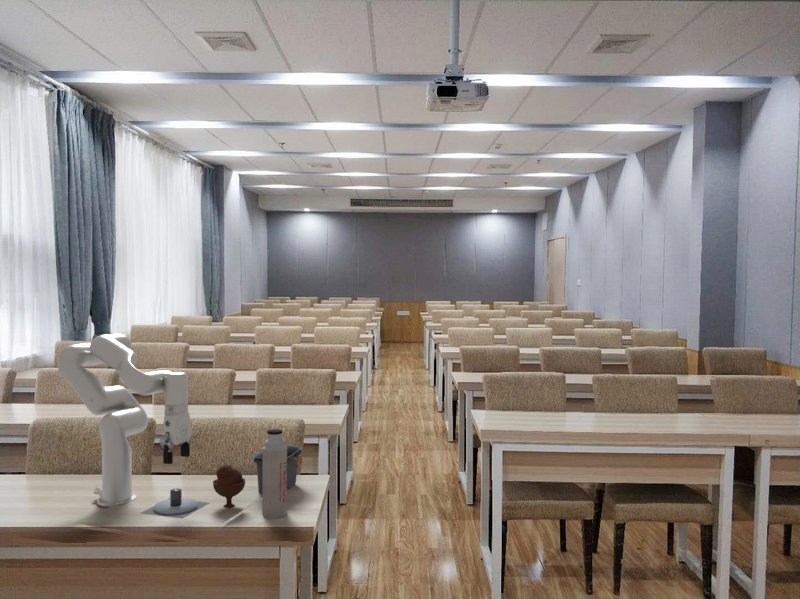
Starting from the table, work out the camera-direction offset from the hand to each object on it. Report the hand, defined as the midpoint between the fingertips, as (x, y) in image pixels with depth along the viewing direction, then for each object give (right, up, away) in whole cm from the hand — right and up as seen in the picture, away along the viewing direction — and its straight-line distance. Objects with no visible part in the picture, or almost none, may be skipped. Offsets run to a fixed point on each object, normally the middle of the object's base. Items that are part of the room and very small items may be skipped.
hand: (176, 459), depth 225 cm
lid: (0, -16, 0) cm, 16 cm away
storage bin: (+30, -17, +25) cm, 43 cm away
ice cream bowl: (+17, -18, +3) cm, 24 cm away
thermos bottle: (+33, -18, -2) cm, 38 cm away
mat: (-1, -17, 0) cm, 17 cm away
